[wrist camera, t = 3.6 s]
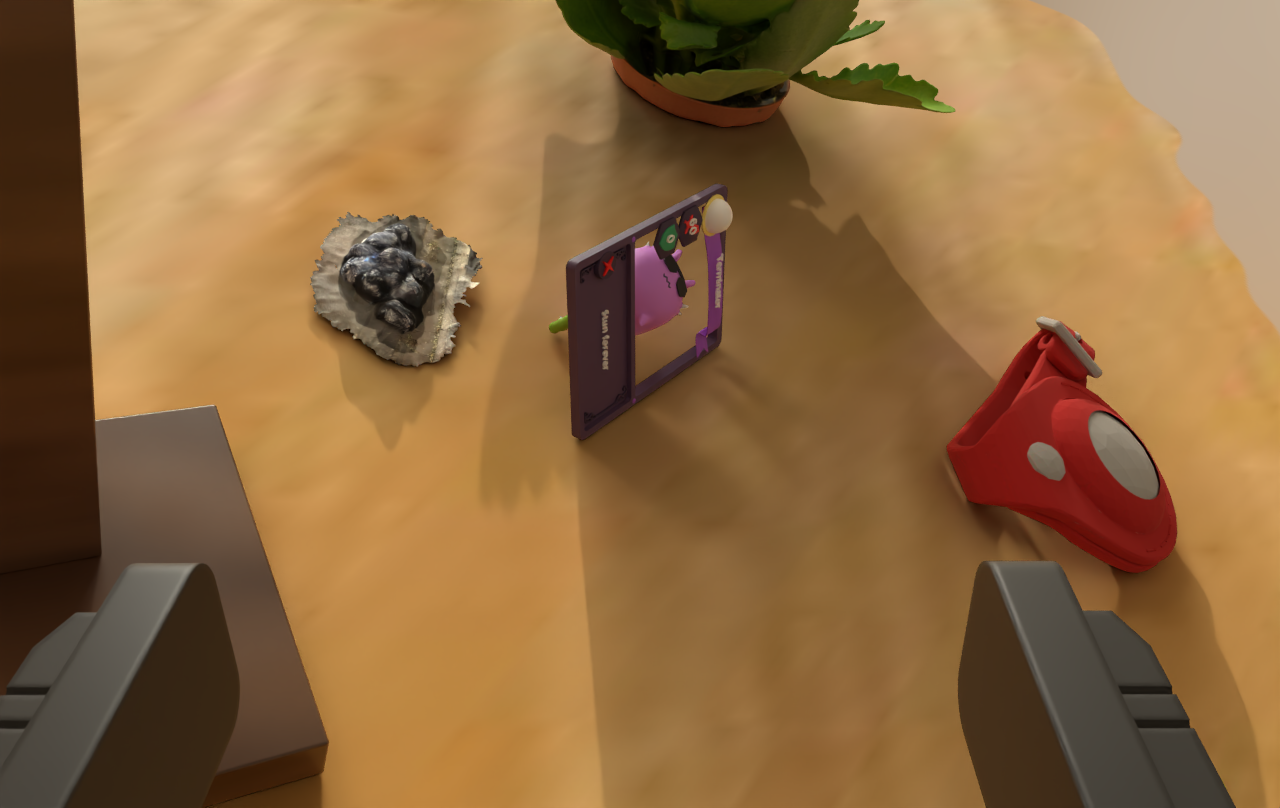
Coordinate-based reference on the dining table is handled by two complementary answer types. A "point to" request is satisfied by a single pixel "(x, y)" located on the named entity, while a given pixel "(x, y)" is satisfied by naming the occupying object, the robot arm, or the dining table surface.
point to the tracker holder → (1066, 456)
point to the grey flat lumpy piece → (394, 285)
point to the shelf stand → (113, 437)
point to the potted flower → (736, 54)
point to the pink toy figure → (637, 306)
